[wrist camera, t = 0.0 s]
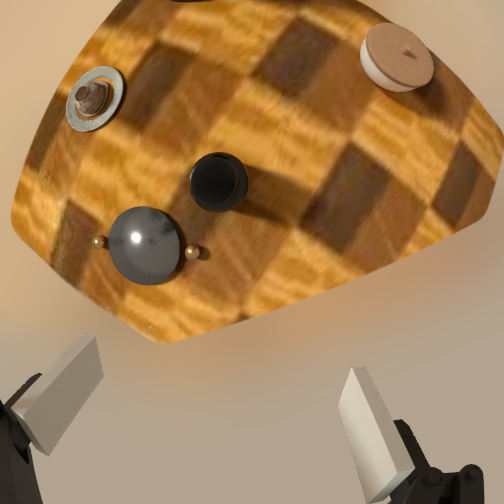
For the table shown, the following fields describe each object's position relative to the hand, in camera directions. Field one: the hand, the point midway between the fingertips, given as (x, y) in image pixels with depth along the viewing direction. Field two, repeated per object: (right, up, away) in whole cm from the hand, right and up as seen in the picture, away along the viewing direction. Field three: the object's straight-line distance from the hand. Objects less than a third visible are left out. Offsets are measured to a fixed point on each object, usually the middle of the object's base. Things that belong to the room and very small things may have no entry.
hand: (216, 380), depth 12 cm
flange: (-15, +7, +27) cm, 32 cm away
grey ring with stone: (-24, +32, +22) cm, 46 cm away
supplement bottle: (-2, +16, +25) cm, 30 cm away
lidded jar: (+22, +35, +20) cm, 46 cm away
